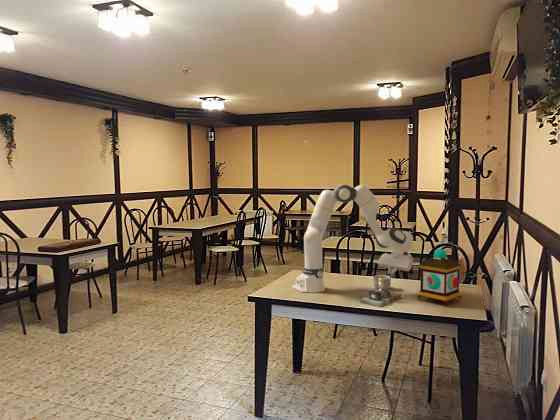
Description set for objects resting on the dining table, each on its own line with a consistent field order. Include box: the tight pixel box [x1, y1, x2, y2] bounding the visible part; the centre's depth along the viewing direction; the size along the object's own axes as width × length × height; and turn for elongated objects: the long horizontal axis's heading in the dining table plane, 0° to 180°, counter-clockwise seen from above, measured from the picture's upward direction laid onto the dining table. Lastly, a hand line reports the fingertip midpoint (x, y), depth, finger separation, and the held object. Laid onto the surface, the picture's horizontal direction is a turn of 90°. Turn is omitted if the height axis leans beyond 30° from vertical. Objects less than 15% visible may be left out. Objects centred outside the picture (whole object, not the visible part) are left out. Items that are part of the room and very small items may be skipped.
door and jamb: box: [359, 289, 402, 308], centre depth 244 cm, size 24×12×6 cm, turn 137°
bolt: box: [371, 278, 386, 299], centre depth 241 cm, size 10×3×10 cm, turn 137°
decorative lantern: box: [417, 247, 462, 308], centre depth 241 cm, size 20×20×30 cm
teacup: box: [372, 274, 392, 291], centre depth 270 cm, size 14×11×8 cm
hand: (389, 273), depth 251 cm, fingers closed
